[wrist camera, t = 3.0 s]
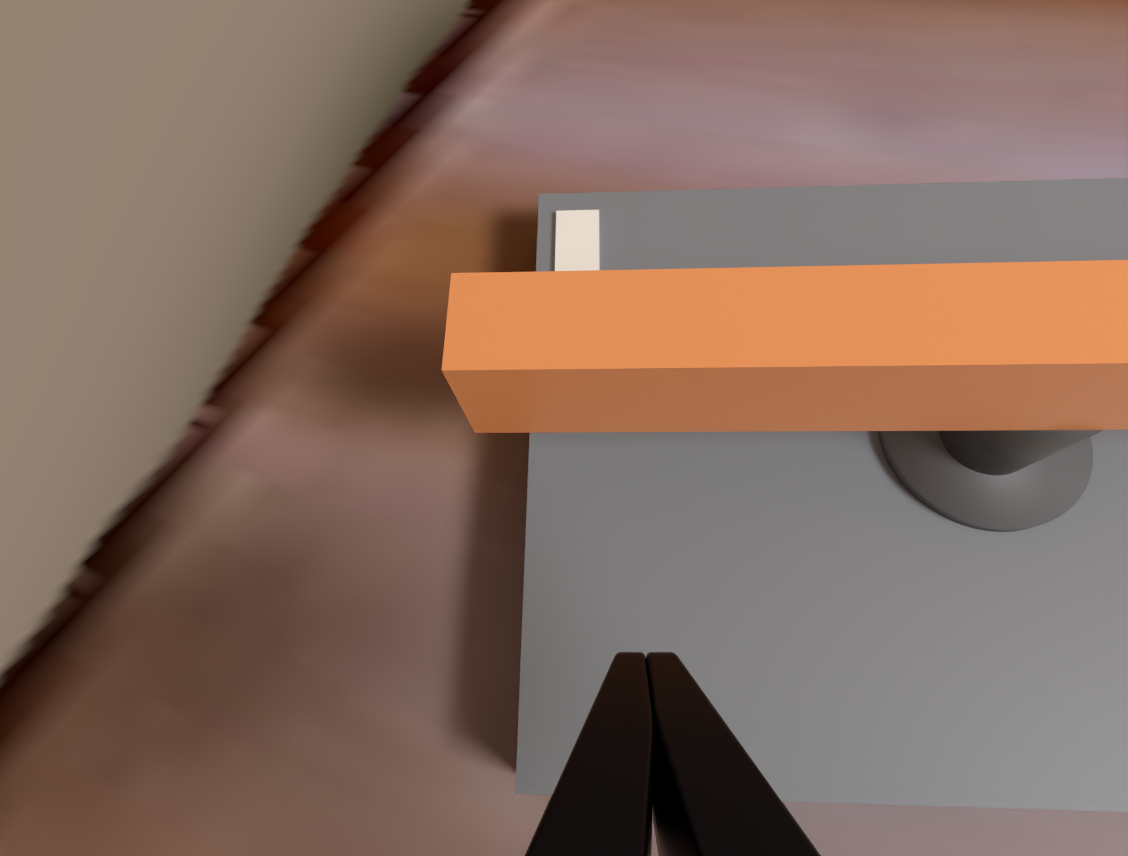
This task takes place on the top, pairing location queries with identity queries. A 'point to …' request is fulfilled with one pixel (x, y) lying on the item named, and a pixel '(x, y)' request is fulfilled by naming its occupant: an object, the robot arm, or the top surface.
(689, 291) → the handle
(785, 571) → the panel
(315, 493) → the top surface
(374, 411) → the top surface
